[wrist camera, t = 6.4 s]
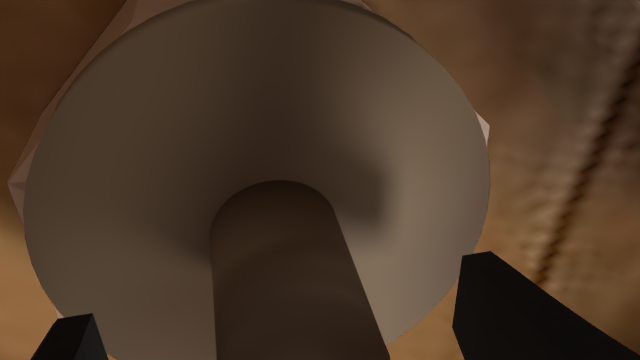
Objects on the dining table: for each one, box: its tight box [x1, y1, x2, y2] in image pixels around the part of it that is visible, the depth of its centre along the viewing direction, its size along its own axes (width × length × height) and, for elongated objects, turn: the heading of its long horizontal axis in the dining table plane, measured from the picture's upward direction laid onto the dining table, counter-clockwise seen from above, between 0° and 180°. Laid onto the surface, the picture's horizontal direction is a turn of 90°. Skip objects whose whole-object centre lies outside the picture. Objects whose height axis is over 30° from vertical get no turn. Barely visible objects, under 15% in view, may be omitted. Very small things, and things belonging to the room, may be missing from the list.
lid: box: [23, 0, 490, 360], centre depth 11 cm, size 10×10×5 cm
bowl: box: [7, 0, 490, 318], centre depth 15 cm, size 11×11×4 cm
